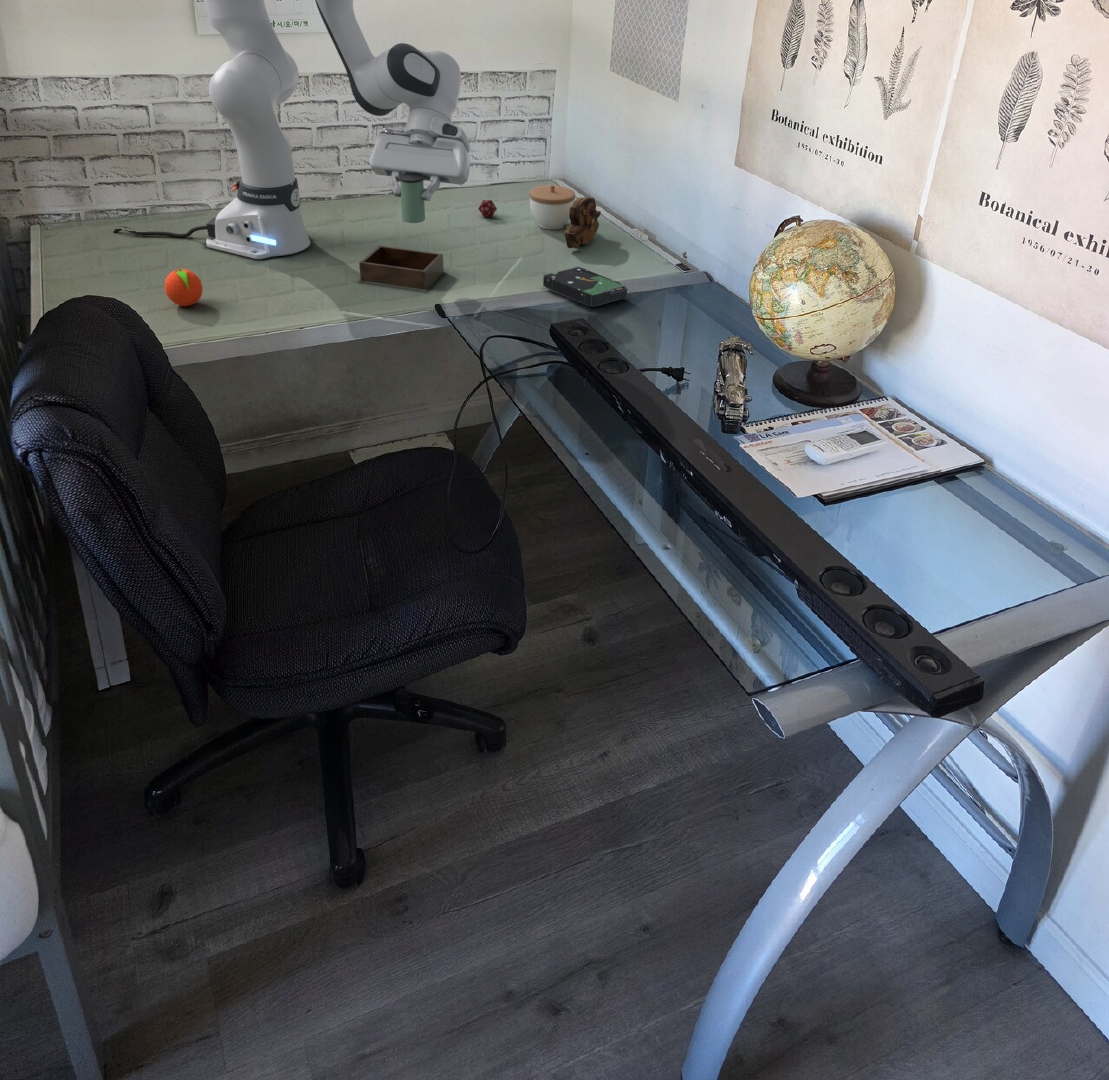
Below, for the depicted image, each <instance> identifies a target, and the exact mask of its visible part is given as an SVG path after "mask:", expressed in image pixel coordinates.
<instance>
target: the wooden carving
mask: <svg viewBox="0 0 1109 1080" xmlns="http://www.w3.org/2000/svg"><path fill="white" fill-rule="evenodd" d="M601 215H602V211H601V210H597V203H596V199H595V198H594V197H589V196H585V197H582V196H581V197H577V198H575V199H574V203H573V205H572V207H570V212H569V218H570V219H569V221H570V224H568V225H567V226H566V228H565V230H564V234H563V235H564V238H565V242H566V248H568V249H578V248H579V246H580V245H587V244H589V243H590V242H591V241H593V239H594V238H595V236H596V234H597V232H598V230H599V226H600V223H599V220H598V219H599V218H600V217H601Z"/></svg>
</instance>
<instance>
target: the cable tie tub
mask: <svg viewBox="0 0 1109 1080" xmlns="http://www.w3.org/2000/svg"><path fill="white" fill-rule="evenodd" d="M399 180H400V182H399V186H400V189H401V197H400V202H401V203H400V204H401V219H402V222H404V223H407V224H419V223H423V222H424V221H425V220H426V206H425V200H422V198H421V194H422V190H423V189H425V187H424V181H425V180H424V176H423V175H421V174H417V173H406V174H402V175H400V176H399Z"/></svg>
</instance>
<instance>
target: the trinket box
mask: <svg viewBox="0 0 1109 1080" xmlns="http://www.w3.org/2000/svg"><path fill="white" fill-rule="evenodd" d="M575 200H576V192H575V191H574V190H573V189H571V188H569V187H566V186H561V185H555V184H549V185H547V184H546V185H539V186H536V187H533V188H531V189H530V190H529V207H530V208H529V209H530V213H531V216H532V218H533V220H534V221H535V223H537V224H538V226H539V227H540V228H541V229H545V230H560V229H562V228H564V226H565V225H566V224H567V223H568V222H569V221H570V218H569V212H570V207H572V205H573V203H574V201H575Z"/></svg>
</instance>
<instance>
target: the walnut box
mask: <svg viewBox="0 0 1109 1080" xmlns="http://www.w3.org/2000/svg"><path fill="white" fill-rule="evenodd" d="M358 264H359V265H358V266H359V275H360V281H361V282H367V283H376V284H381V285H389V286H395V287H403V288H411V289H416V290H423V291H427V290H428V289H429V288H430V287H431V286H432V285H433V283H434V282H435V281H436V280H437V279H438V278H439V277H440V276H441V275H442V274H443V273H444V254H443V253H438V252H430V251H425V250H424V251H423V250H416V249H409V248H401V247H394V246H386V245H381V244H380V245H378V246H377V247H375V248H374V249H373V250H372V251H371V252H370V253H369V254H368V255H366V256H365V257H364V258H363V259H362V260H360V261H359V262H358Z"/></svg>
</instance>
